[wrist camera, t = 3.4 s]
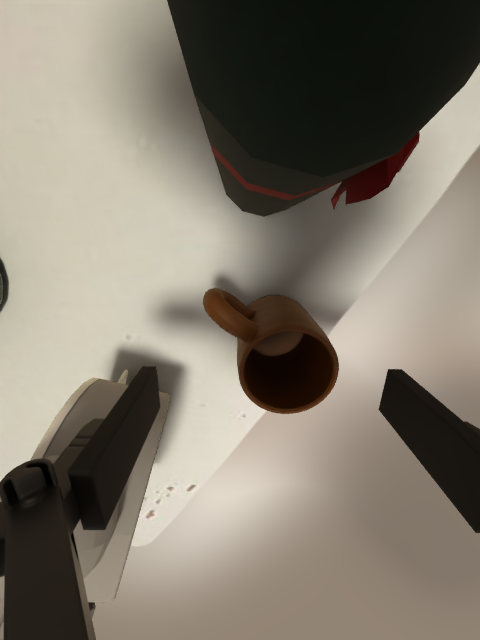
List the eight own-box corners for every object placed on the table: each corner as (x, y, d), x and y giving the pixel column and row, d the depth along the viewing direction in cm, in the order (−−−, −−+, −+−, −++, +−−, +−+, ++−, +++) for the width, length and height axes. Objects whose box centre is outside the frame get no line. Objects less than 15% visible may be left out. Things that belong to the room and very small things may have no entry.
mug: (191, 304, 26) (166, 341, 18) (239, 247, 25) (239, 256, 16) (274, 371, 29) (288, 432, 20) (323, 324, 27) (363, 369, 18)
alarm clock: (117, 338, 28) (-242, 655, 7) (193, 361, 29) (73, 699, 8) (96, 448, 33) (-146, 817, 12) (161, 464, 34) (38, 833, 13)
